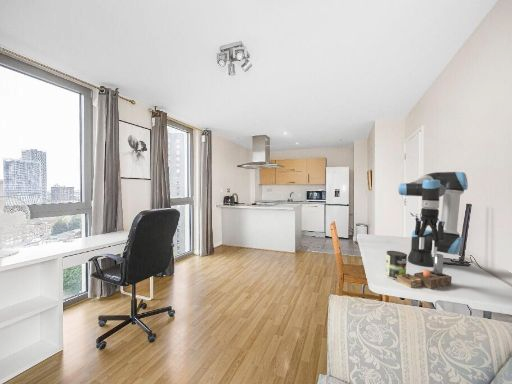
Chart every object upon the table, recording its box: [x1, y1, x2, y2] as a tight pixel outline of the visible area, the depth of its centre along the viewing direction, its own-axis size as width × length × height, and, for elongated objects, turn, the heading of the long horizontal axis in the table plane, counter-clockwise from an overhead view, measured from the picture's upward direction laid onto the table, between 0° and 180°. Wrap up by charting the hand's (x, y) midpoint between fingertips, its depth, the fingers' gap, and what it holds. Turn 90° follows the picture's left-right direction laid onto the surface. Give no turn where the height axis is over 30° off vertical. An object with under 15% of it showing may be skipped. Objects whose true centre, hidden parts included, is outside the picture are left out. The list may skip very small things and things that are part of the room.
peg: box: [432, 253, 444, 277], centre depth 126 cm, size 4×4×16 cm
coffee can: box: [385, 250, 408, 281], centre depth 134 cm, size 10×10×14 cm
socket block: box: [413, 270, 453, 290], centre depth 125 cm, size 16×9×5 cm, turn 109°
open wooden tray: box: [396, 273, 422, 288], centre depth 125 cm, size 8×8×4 cm
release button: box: [422, 269, 431, 278], centre depth 123 cm, size 3×3×5 cm
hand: (427, 250), depth 123 cm, fingers open, 6 cm apart
